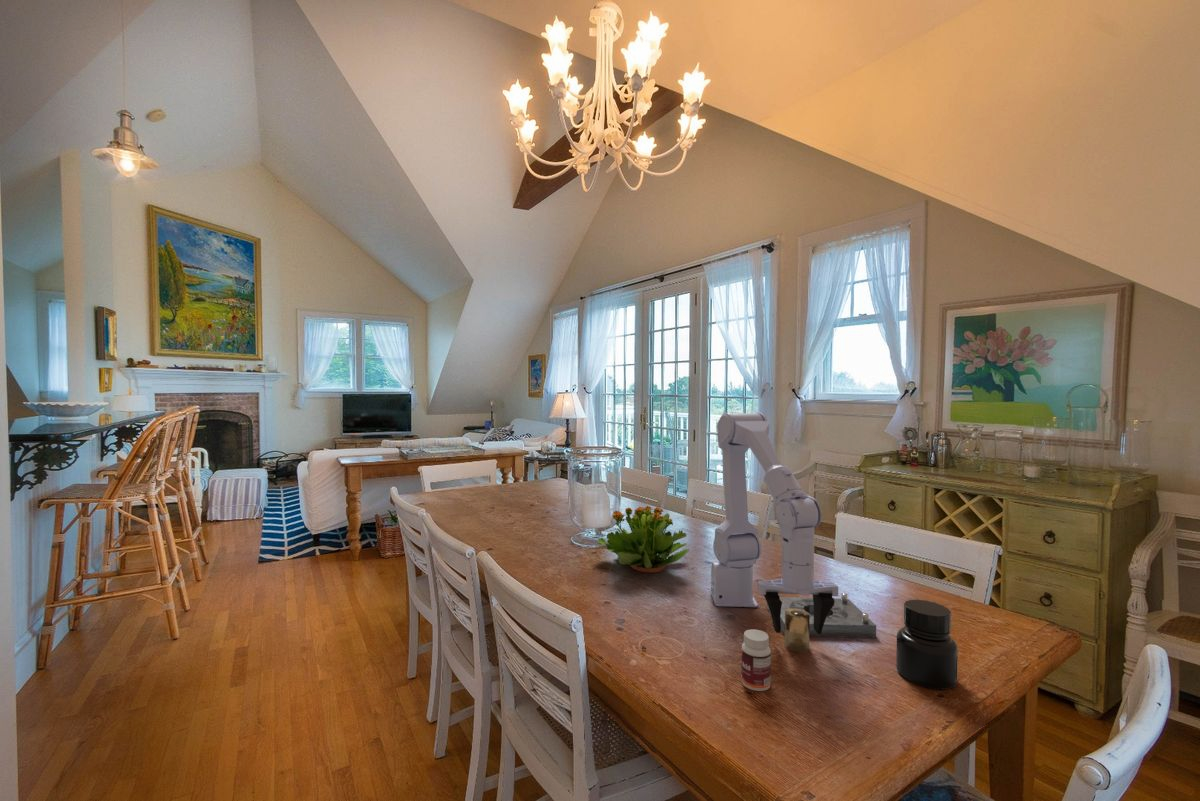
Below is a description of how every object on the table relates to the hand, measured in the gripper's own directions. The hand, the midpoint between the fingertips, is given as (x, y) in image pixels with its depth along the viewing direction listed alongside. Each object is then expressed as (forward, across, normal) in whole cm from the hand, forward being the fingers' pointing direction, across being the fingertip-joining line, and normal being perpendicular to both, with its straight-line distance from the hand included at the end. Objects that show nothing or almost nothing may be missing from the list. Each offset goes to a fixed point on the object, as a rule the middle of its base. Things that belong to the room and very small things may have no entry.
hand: (797, 631), depth 98 cm
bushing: (+3, 0, 0) cm, 3 cm away
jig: (+3, +8, +11) cm, 14 cm away
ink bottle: (+3, +19, -9) cm, 21 cm away
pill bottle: (+3, -11, -13) cm, 17 cm away
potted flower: (+3, -26, +42) cm, 50 cm away
